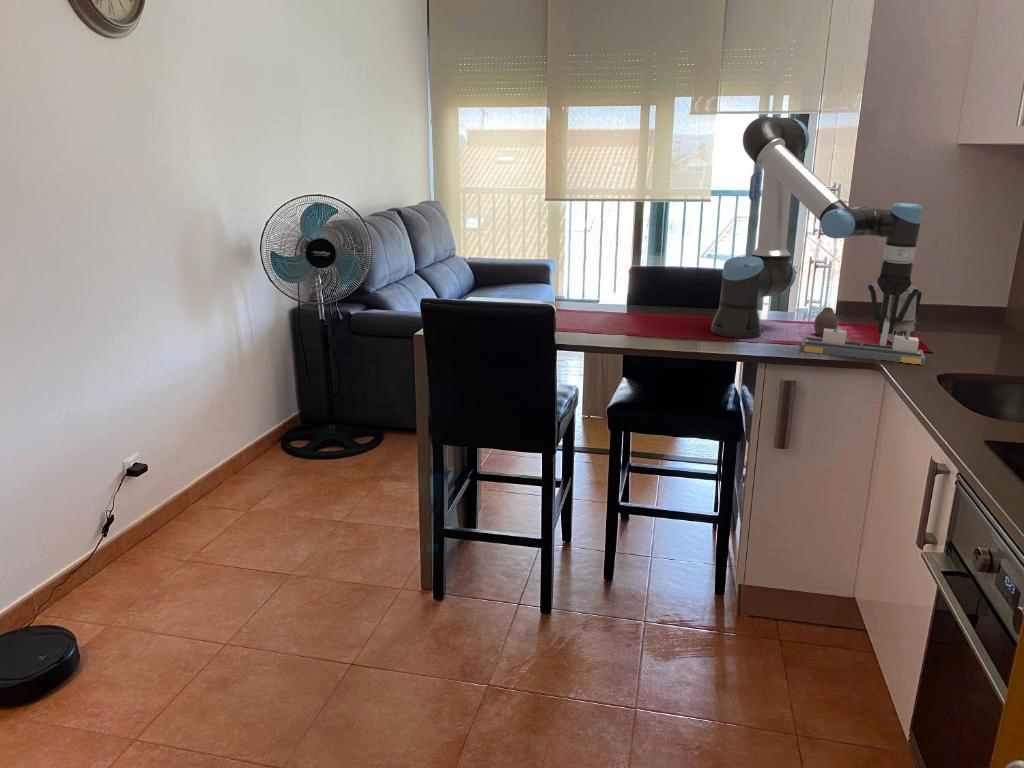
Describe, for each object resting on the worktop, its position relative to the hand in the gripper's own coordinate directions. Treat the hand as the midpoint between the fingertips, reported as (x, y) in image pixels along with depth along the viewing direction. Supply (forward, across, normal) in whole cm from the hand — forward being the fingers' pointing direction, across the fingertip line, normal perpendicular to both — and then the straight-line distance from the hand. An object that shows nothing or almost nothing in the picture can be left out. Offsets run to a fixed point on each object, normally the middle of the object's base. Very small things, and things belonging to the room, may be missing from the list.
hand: (882, 344), depth 213 cm
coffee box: (+4, +6, +23) cm, 24 cm away
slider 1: (+2, -13, 0) cm, 13 cm away
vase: (+4, -15, +20) cm, 25 cm away
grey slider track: (+4, -5, 0) cm, 6 cm away
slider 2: (+1, +6, 0) cm, 6 cm away
